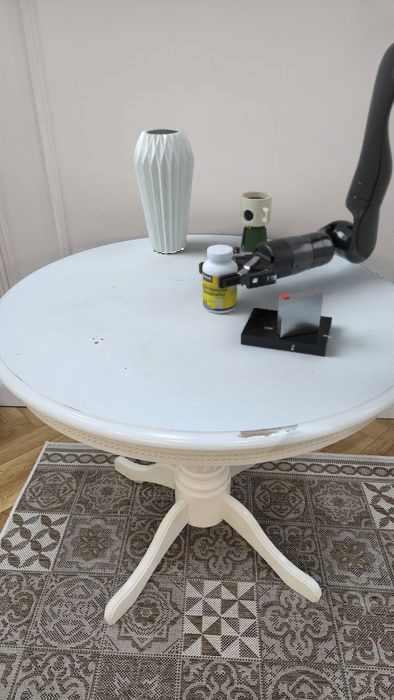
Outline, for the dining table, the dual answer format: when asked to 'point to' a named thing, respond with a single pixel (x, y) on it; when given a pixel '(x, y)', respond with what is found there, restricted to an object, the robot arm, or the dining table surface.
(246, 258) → the robot arm
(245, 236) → the character mug
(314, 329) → the grey battery block
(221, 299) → the pill bottle
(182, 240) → the vase
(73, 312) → the dining table surface
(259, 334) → the black base plate
